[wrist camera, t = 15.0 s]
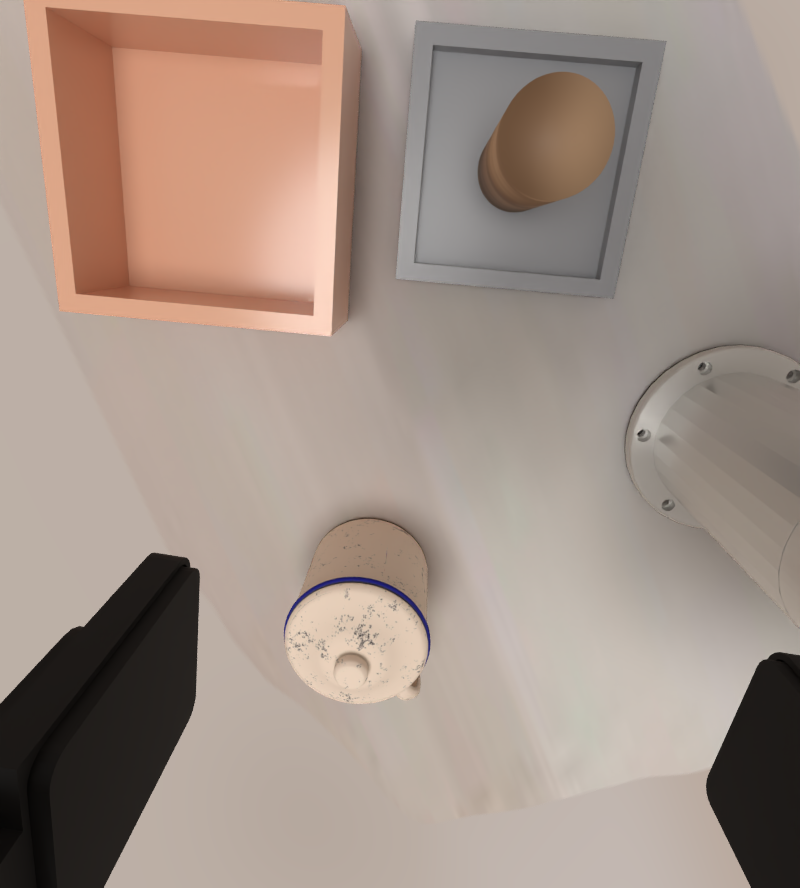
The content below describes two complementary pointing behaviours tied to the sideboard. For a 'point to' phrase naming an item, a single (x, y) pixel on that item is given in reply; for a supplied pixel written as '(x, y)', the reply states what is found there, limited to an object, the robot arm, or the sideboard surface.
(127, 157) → the terracotta open box
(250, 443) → the sideboard surface
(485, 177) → the walnut dowel
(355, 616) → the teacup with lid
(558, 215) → the grey tray
